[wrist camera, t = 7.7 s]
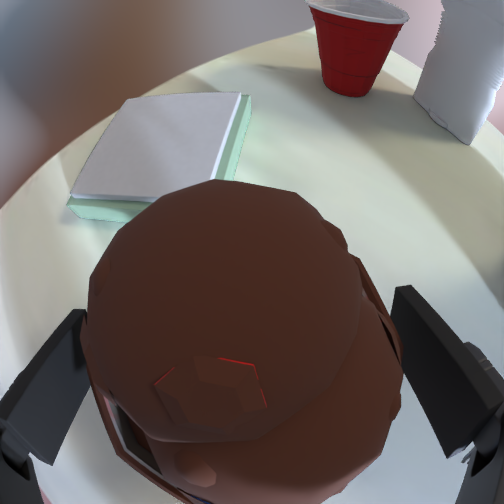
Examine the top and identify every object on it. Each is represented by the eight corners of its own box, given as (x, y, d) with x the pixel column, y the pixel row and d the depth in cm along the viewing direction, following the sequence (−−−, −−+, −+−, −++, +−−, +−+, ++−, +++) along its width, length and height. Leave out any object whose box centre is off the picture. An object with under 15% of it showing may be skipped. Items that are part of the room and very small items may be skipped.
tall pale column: (476, 143, 24) (542, 11, 3) (465, 152, 23) (538, 4, 3) (418, 91, 27) (456, -41, 7) (403, 95, 27) (440, -50, 7)
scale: (251, 112, 26) (249, 88, 23) (219, 233, 20) (211, 210, 18) (128, 116, 28) (119, 96, 25) (74, 217, 22) (55, 200, 19)
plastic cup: (287, 67, 29) (287, -14, 18) (358, 63, 30) (370, -7, 19) (324, 115, 25) (337, 10, 14) (403, 109, 26) (430, 25, 15)
